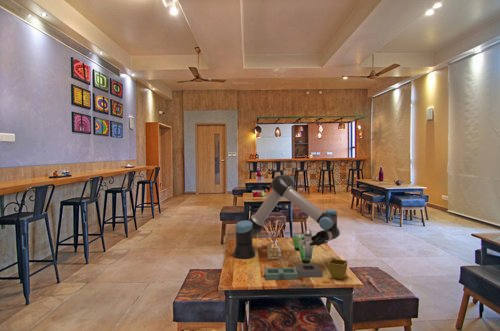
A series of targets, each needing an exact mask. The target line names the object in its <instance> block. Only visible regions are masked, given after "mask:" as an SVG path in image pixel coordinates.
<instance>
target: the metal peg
mask: <svg viewBox="0 0 500 331" xmlns="http://www.w3.org/2000/svg"><path fill="white" fill-rule="evenodd" d="M303 235H304V237H305V245H304V259H305V260H311V259H312V256H313V255H312V254H313V253H312V249H313V248H312V247H313V246H311V247H308V248H306V243H307V242H310V241H311V236H313V235H312V230H310V229H307V230H306V229H305V230H304V234H303Z"/></svg>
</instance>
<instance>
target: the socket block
mask: <svg viewBox="0 0 500 331" xmlns="http://www.w3.org/2000/svg"><path fill="white" fill-rule="evenodd" d="M295 269H296V271H297V273H298V278H323V270H322V269H321V267H320V266H319V265H318V263H295Z"/></svg>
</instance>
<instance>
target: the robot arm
mask: <svg viewBox="0 0 500 331" xmlns="http://www.w3.org/2000/svg"><path fill="white" fill-rule="evenodd" d="M294 186H295V179H294V177H292V175H290V174H286V173H285V174H281V175H280V174H279V175H277V176H274V177H273V179H272V180H271V191H270V192H269V194H268V195H267V197H266V198H265V200H263V202H262V204H261V205H260V207H259V208H258V210H257V211H256V212H255V214H252V215H250V217H249V218H248V220H240V221H238V222H236V223H235V248H234V250H233V257H234V258H235V259H242V260H243V259H244V260H247V259H248V260H249V259H252V258H254V257H255V256H256V251H255V247H254V245H253V238H254V237H255V236H257V235H259V234H261V233H262V231H263V229H264V227H265V221H266V220H267V218H268V217H269V216H270V214H271V213H272V211H273V210H274V209H275V207H276V206H277V204H278V203H279V202H280V201H281V200H282V198H283V199H286V200H287V201H288V202H290V203H291V204H293V205H294V206H295V207H297V208H298V209H299V210H300V211H302V212H303V214H305V215H307V216H308V217H310V219H312V220H314V222H316V223H317V224H319V225H318V226H319V227H320V228H321V229H322V230H320V231H318V232H316V234H315V235H312V236H311V241H310V242H307V243H306V248H308V247H311V246H312V247H313V246H317V247H319V246H322V245H324V244H328V242H330V241H332V240H335V239H337V238H339V236H340V235H341V231H340V229H339V227H338V211H337V210H336V209H333V208H329V209H326V210H325V211H323V210H322V209H320V208H319V207H318V206H316V205H315V204H313V202H311V201H310V200H308V199H307V198H305V196H303V195H302V194H300V193H299V192H298V191H296V190H295V189H294ZM302 246H305V236H304V237H302V238H301V240H300V241H299V240H298V247H302Z"/></svg>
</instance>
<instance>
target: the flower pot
mask: <svg viewBox="0 0 500 331" xmlns="http://www.w3.org/2000/svg"><path fill="white" fill-rule="evenodd" d="M327 265H328V271H329V274H330V276H331V278H333V279H336V280H342V279H343V278H344V277H345V275H346V273H347V269H348V260H344V259H337V258H331V259H330V260H329V262H328V263H327Z"/></svg>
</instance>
